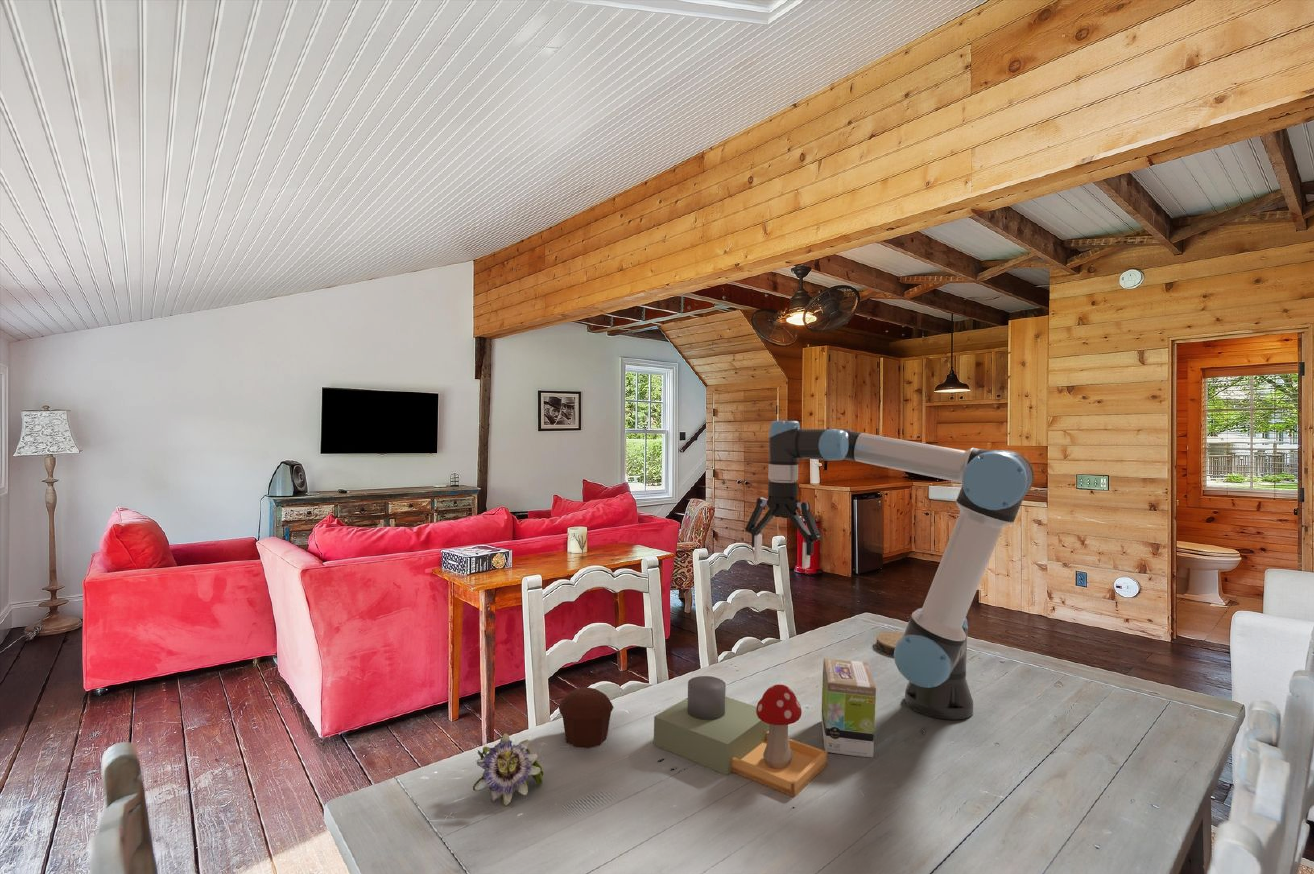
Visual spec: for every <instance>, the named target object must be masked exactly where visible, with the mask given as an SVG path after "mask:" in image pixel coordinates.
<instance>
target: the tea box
mask: <svg viewBox="0 0 1314 874" xmlns="http://www.w3.org/2000/svg"><path fill="white" fill-rule="evenodd" d="M822 665H823V667H822V692H821V695H822V696H821V727H822V735H823V736H822V737H823V747H824V751H827V752H828V753H832V754H838V755H847V756H855V757H861V758H874V753H875V752H874V748H875V747H874V746H875V744H874V743H875V725H876V723H875V721H876V700H877V688H876V684H875V681H874V677H873V675H872V672H871V669H870V666H869V663H868V662H866V661H856V660H847V659H836V658H828V657H827V658H826V657H824V658H823V664H822Z"/></svg>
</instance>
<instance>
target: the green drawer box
mask: <svg viewBox="0 0 1314 874" xmlns="http://www.w3.org/2000/svg"><path fill="white" fill-rule="evenodd" d="M726 686H727V685H726V682H725V681H724V680H723V679H721V678H718V677H715V676H709V675H700V676H695V677H692V678H690V679H688V682H687V697H686V698H685V699H683V700H680V701H679V702H677V703H676V704H674V705H671V706H669V708H667V709H665V710H663V711H661V712H659V713H658V714H656V715H655V716H653V719H654V720H653V745H654V746H655V747H658V748H661V749H664V750H665V751H668V752H670V753H673V754H676V755H678V756H680V757H683V758H684V759H687V760H689V761H692V762H694V763H697V764H700V765H701V766H704V767H706V768H708V769H711V770H714V771H716V772H718V773H721V774H723V775H726V776H728V775H729V774H731V773H735V774H737V775H739V776H742V777H744V778H746V779H749V780H751V781H753V782H756V783H759V784H761V785H763V786H766V787H768V788H770V789H773V790H776V791H778V792H781V793H783V794H786V795H788V796H789V797H793V798H795V797H796V796H797V795H798V794H799V793H800V792H802V790H803V789H804V788H805V787H806V786H807V785H809V784H810V782H811V781H812V780H813V779H815V777H816V776H817V775H818V774H819V773H820V772H821V771H822V770H823V769H824V768H826V767H827V765H828V758H829V757H828V753H829V752H827V751H825V749H821V748H818V747H815V746H812V745H809V744H808V743H807V744H806V743H804V742H801V741H798V740H795V739H792V738H789V744H790V748H791V751H792V759H791V762H790V764H789V765H788V766H787V767H785V768H782V769H773V768H770V767H768V766H767V765H766V763H765V760H764V757H763V753H764V751H765V748H766V745H767V741H768V735H769V724H768V723H765V722H763V721H761V720H760V719H759V718H758V716H757V713H756V708H757V705H756V706H755V705H752V704H749V703H746V702H743V701H740V700H737V699H734V698H731V697H728V696H726V692H727V691H726Z"/></svg>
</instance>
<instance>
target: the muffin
mask: <svg viewBox="0 0 1314 874" xmlns="http://www.w3.org/2000/svg"><path fill="white" fill-rule="evenodd" d="M613 709H615V708H614V705H613V703H612V701H610V698H609V696H607V694H605V692H602V691H601V690H598V689H597V688H593V687H579V688H576V689H574V690H572V691H569V692H568V693H567V694H566V695H565V696H564V698H562V700H561V702H560V704H559V705H558V711H559V713H560V716H562V722H563V729H564V738H565V743H566V744H568V745H570V746H572V747H574V748H580V749H581V748H583V749H590V748H594V747H598V746H601V745H602V744H603V743H604V742H605V741H607V738H608V733H609V728H610V720H611V715H612V711H613Z"/></svg>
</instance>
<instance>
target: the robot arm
mask: <svg viewBox="0 0 1314 874" xmlns="http://www.w3.org/2000/svg"><path fill="white" fill-rule="evenodd" d="M768 434H769V436H768V475H767V478H768V480H769V481H768V483H767V495H768V497H767V498H765V497H764V496H763V497H757V498H756V503H755V505H756V506H755V507H754V509H753V512H752V514H751V516H750V518H749V519H748V522H747V524H746V526H745V529H744V530H745V532H747V533H749V534H751V546H752V548H753V547H754V548H753V549H754V550H753V554H754V555H753V561H757V562H758V561H760V560H763V557H762V556H763V534H762V533H761V532H762V530H763V529H764V528H766V526H767V524H769V522H770V521H771V520H772V519H773V518H774V517H775V518H782V519H789V520H790V521H791V522H792V523H793V525H794V526H795V528H796V529H797V530H798V532H799V533H800V535H801V536H802V537H803V539H804V540H805V541H803V542H802V560H801V561H802V562H801V563H802V566H801V569H803V570H806V569H809V568H810V566H811V556H812V555H814V543H815V542H817V541H819V540H821V539H822V535H821V533H820V531H819V528H818V526H817V523H816V521H815V519H814V517H813V514H812V511H811V505H810V502H809V501H803V502H799V500H798V497H799V483H798V482H797V481H798V480H799V463H800V462H799V460H801V459H807V460H821V461H829V462H830V461H842V460H847V461H851V462H857V463H858V462H859V463H863V464H869V465H873V466H878V467H883V468H888V469H892V470H898V471H903V472H907V473H913V474H916V475H917V474H918V475H921V476H927V477H932V478H937V479H942V480H946V481H951V482H956V483H960V484H961V487H960V490H959V491H958V495H957V498H956V501H955V503H956V505H957V508H958V509H959V514H958V517H957V518H956V521H955V524H954V526H953V530H952V532H951V535H950V536H949V540H948V542H947V544H946V546H945V550H944V552H943V554H942V557H941V558H940V559H941V560H940V563H939V565H938V568H937V570H936V572H935V575H934V577H933V580H932V582H931V585H930V587H929V590H928V591H927V595H926V598H925V599H924V603H923V606H922V607H921V608H920V607H919V608H917V609H916V610H914V611H912V614H911V616H910V618H909V620H908V622H907V625H906V628H905V631H904V635H903V637H902V638H901V639H900V640H899V641H898V642H897V644H896V647H895V650H894V656H893V660H894V664H895V665H896V668H897V669H898V671H899V673H900V674H901V675H902V677H904V679H905V680H907V681H908V683H907V685H906V688H905V692H904V702H905V704H906V705H907V706H908V707H909V708H910V709H912V710H914V711H915V712H917V713H919V714H922V715H925V716H928V717H932V718H936V719H940V720H941V719H942V720H947V721H948V720H950V721H952V720H953V721H955V720H956V721H957V720H965V719H968V718H970V717H972V716H973V714H974V701H973V697H972V694H971V691H970V690H971V689H970V688H969V684H968V680H967V655H968V654H967V652H968V631H969V628H968V619H967V615H968V612H969V610H970V607H971V605H972V603H973V600H974V597H975V595H976V593H977V591H978V588H979V586H980V583H981V581H982V579H983V576H984V573H985V571H986V569H987V566H988V564H989V561H990V559H991V556H992V553H993V551H994V549H995V546H996V544H997V542H998V540H999V537H1000V535H1001V533H1002V530H1003V528H1004V527H1005V526H1009V525H1012V524H1014V522H1015V521H1016V519H1017V518H1016V517H1017V516H1018V513H1019V511H1020V508H1021V506H1022V503H1023V501H1024V498H1025V497H1026V495H1027V494H1028V493H1029V492H1030V491H1031V489H1032V487H1033V485H1034V481H1035V473H1034V468H1033V467H1032V463H1030V461H1029V460H1028V459H1027V458H1026V457H1025V456H1023V455H1022V454H1021V453H1019V452H1016V451H1013V450H1009V449H1008V450H1007V449H985V448H976V447H971V448H969V449H967V450H963V449H957V448H951V447H944V446H939V445H936V444H934V445H933V444H929V443H923V442H918V441H911V440H906V439H899V438H893V437H888V436H882V435H876V434H871V433H866V432H858V431H855V430H854V431H853V430H851V429H847V428H838V429H836V428H827V429H826V428H812V429H811V428H810V429H809V428H801V426H800V422H799V421H797V420H773V421H771V422H770V425H769V433H768ZM766 506H767V507H768V510H767V512H766V513H765V514H764V516H763V517H762V518H761V520H759V519H760V517H761V515H762V514H763V511H764V509H765V507H766ZM798 508H799V511H800V512H801V514H802V517H803V519H804V521H803V520H802V518H801V516H800V514H799V512H798V511H797V510H798ZM758 521H759V522H758ZM804 522H805V523H804Z"/></svg>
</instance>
